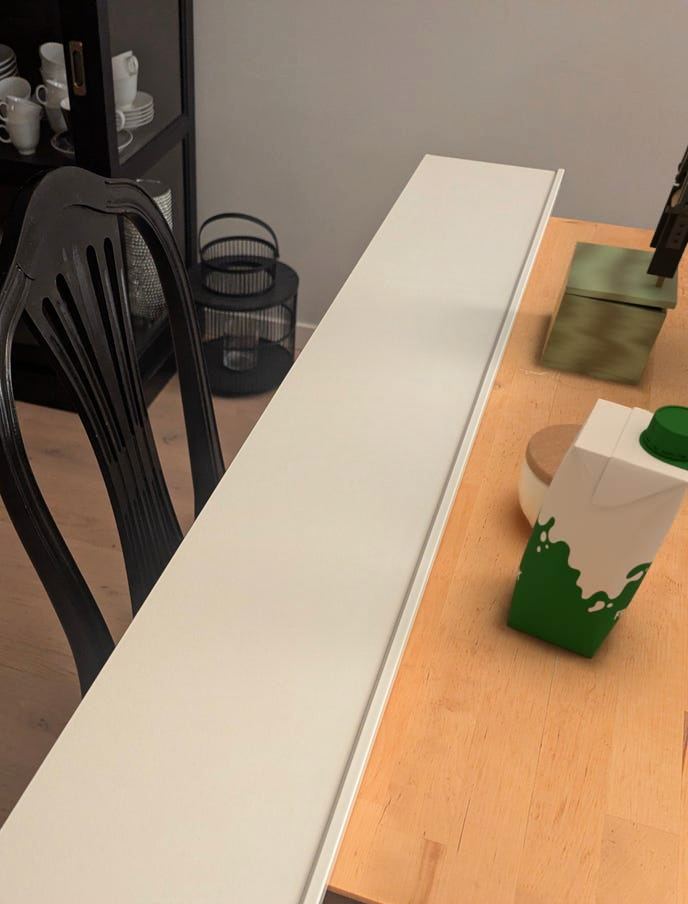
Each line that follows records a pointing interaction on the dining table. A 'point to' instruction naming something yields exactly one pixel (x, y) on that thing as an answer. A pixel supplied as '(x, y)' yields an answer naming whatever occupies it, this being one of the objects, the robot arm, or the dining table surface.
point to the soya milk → (601, 524)
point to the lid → (620, 275)
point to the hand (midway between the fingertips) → (660, 261)
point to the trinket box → (543, 465)
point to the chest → (601, 336)
